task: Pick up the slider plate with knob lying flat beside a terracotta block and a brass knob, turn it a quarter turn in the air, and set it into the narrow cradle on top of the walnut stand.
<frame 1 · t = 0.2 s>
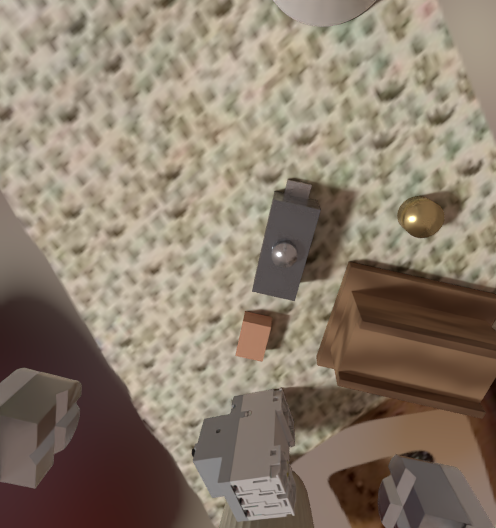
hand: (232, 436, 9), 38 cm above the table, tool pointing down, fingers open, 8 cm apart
circuit breaker: (247, 411, 59), on the table
slider plate with knob: (284, 239, 47), on the table
brass knob: (415, 213, 44), on the table
stand: (400, 327, 50), on the table
terracotta block: (254, 330, 53), on the table
canister: (269, 480, 65), on the table
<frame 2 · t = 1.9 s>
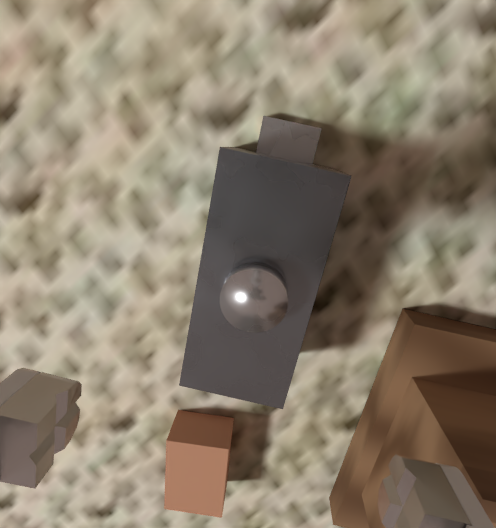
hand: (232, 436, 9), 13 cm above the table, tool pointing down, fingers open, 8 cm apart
slider plate with knob: (260, 260, 21), on the table
terracotta block: (204, 444, 26), on the table
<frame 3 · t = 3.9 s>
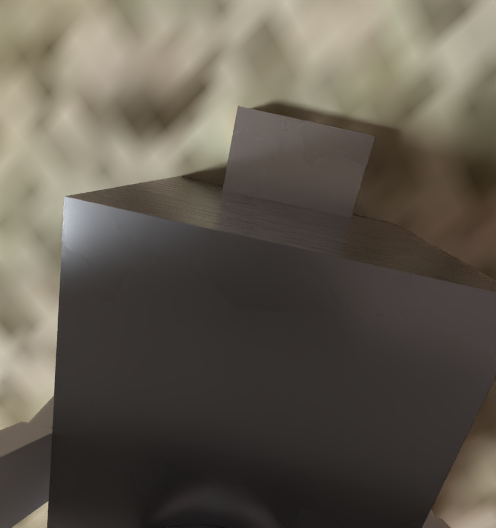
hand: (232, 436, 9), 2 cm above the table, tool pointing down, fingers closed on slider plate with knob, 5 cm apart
slider plate with knob: (238, 397, 11), on the table, touching gripper
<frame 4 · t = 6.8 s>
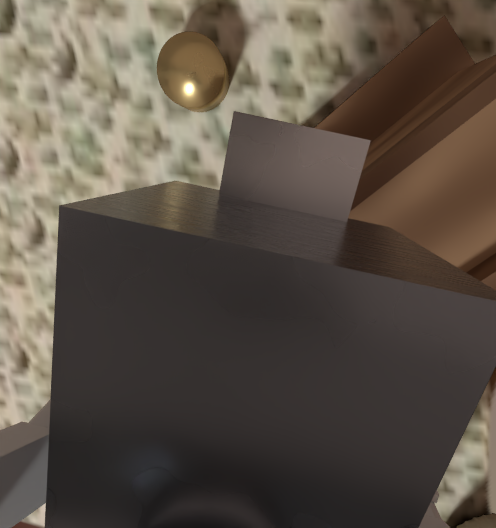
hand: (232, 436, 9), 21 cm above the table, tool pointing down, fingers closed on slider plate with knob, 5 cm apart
slider plate with knob: (236, 400, 11), point 19 cm above the table, touching gripper
brass knob: (199, 79, 26), on the table
stand: (374, 213, 28), on the table
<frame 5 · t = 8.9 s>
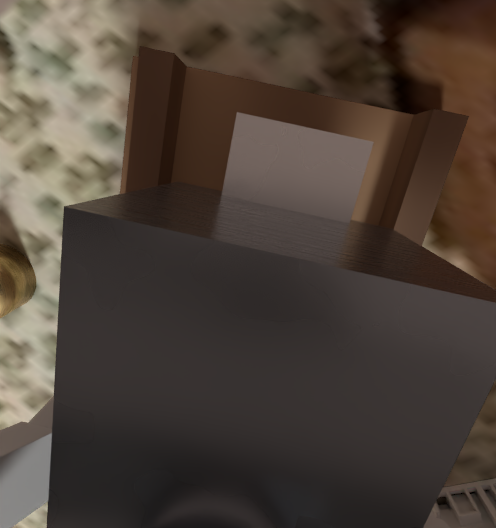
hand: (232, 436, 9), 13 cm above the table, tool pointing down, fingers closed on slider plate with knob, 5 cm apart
slider plate with knob: (237, 401, 11), point 12 cm above the table, touching gripper
brass knob: (4, 275, 23), on the table
stand: (255, 272, 22), on the table
when the fingers open (11 cm above the table, at t = 10.2 s): slider plate with knob drops 1 cm, resting on stand.
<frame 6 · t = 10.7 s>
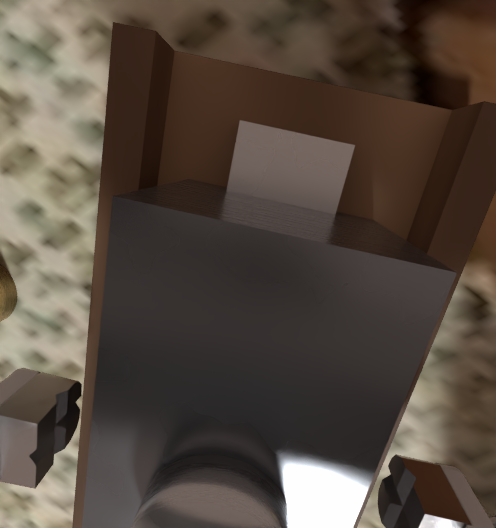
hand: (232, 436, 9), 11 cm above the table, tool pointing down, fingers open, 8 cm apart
slider plate with knob: (239, 372, 12), point 8 cm above the table, touching stand
stand: (257, 286, 20), on the table
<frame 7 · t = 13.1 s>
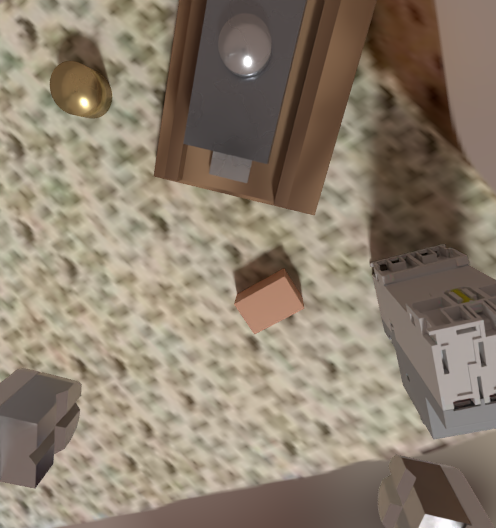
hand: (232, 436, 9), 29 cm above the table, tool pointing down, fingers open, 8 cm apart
circuit breaker: (416, 313, 38), on the table
slider plate with knob: (251, 70, 26), point 8 cm above the table, touching stand
brass knob: (90, 94, 35), on the table
stand: (259, 88, 33), on the table
terracotta block: (269, 295, 39), on the table
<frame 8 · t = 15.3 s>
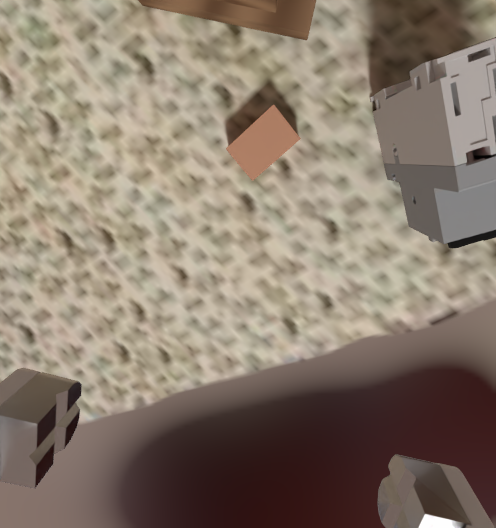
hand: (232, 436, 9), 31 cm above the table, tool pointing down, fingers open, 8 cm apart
circuit breaker: (421, 157, 36), on the table
terracotta block: (263, 144, 37), on the table
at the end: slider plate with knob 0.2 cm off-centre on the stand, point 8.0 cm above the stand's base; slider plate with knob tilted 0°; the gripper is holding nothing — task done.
